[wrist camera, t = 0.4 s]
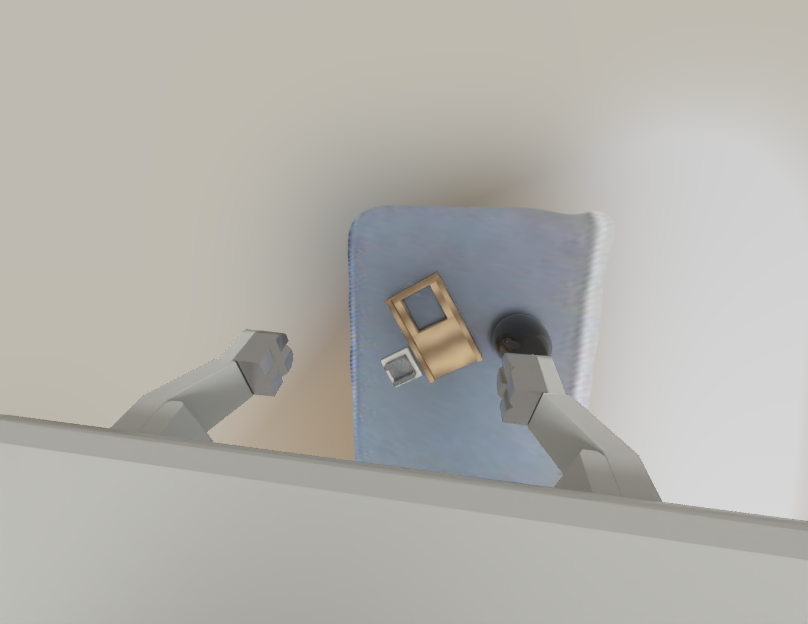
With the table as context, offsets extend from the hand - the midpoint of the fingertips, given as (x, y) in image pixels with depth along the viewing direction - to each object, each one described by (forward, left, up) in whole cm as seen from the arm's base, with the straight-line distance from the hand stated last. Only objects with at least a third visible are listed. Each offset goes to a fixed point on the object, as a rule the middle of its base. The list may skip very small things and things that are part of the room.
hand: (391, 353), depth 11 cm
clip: (-14, +17, -50) cm, 55 cm away
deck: (-9, +6, -51) cm, 53 cm away
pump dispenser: (-18, -8, -52) cm, 55 cm away
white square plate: (-14, +17, -51) cm, 56 cm away
